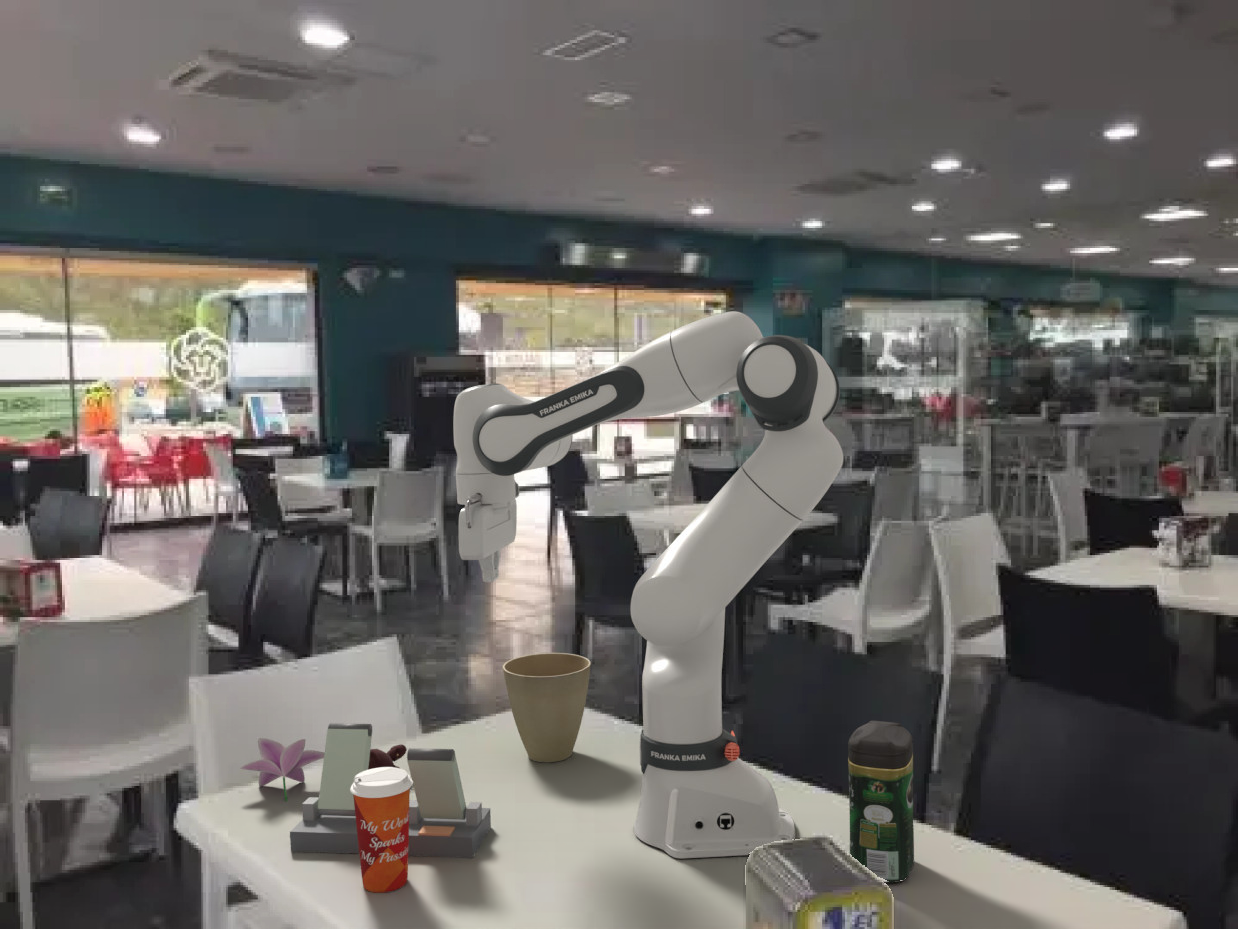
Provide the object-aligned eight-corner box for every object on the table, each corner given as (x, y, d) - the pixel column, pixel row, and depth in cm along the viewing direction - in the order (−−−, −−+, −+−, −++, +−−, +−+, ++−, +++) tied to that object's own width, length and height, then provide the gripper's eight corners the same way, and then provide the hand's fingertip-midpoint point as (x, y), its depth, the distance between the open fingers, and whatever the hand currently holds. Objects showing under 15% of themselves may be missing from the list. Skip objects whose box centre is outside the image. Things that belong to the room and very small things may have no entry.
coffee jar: (857, 849, 144) (856, 713, 143) (917, 858, 141) (917, 719, 139) (843, 880, 135) (842, 736, 134) (907, 890, 132) (907, 743, 131)
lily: (340, 792, 172) (330, 733, 175) (305, 789, 161) (295, 726, 164) (272, 814, 173) (263, 754, 176) (232, 812, 162) (224, 749, 165)
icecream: (354, 771, 160) (423, 749, 172) (321, 750, 164) (391, 731, 176) (345, 814, 161) (414, 789, 173) (312, 792, 165) (382, 770, 177)
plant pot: (505, 743, 190) (502, 655, 188) (589, 739, 191) (586, 650, 190) (505, 774, 175) (502, 678, 174) (596, 768, 176) (594, 673, 175)
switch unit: (490, 827, 154) (489, 792, 153) (472, 858, 144) (471, 820, 143) (320, 822, 157) (318, 787, 157) (290, 851, 147) (289, 814, 147)
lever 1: (362, 816, 151) (373, 724, 156) (357, 816, 149) (368, 723, 154) (322, 815, 152) (333, 724, 157) (316, 814, 150) (328, 722, 155)
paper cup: (360, 902, 132) (355, 791, 131) (349, 876, 139) (345, 771, 138) (422, 889, 135) (418, 780, 134) (409, 864, 142) (405, 761, 141)
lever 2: (467, 812, 150) (453, 745, 144) (464, 823, 148) (449, 756, 142) (425, 810, 151) (410, 745, 144) (422, 822, 149) (406, 755, 143)
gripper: (487, 496, 153) (493, 592, 154) (521, 484, 173) (526, 569, 174) (445, 498, 154) (450, 593, 155) (483, 486, 174) (488, 570, 175)
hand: (490, 580), depth 165 cm, fingers closed
